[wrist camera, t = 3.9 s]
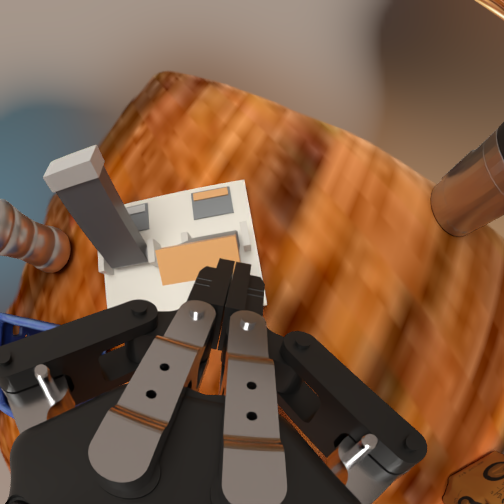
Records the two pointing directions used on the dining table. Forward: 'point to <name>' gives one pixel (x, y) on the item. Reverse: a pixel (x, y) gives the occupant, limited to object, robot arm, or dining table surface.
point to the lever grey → (97, 206)
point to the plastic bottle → (32, 240)
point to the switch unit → (180, 240)
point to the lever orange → (196, 256)
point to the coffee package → (478, 482)
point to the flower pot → (3, 334)
